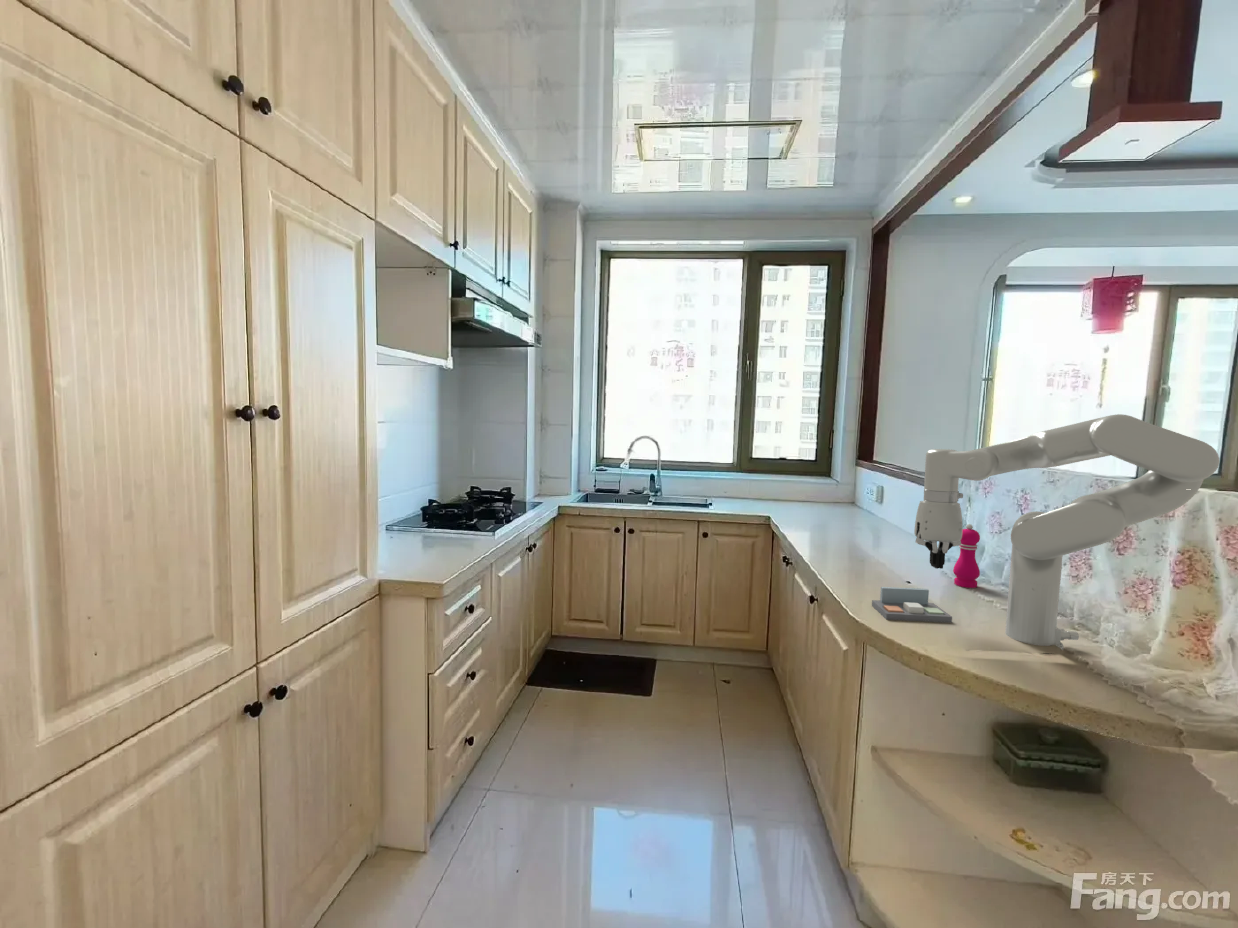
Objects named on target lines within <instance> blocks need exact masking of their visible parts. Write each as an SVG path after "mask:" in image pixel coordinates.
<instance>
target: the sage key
mask: <svg viewBox="0 0 1238 928" xmlns="http://www.w3.org/2000/svg"><path fill="white" fill-rule="evenodd" d="M924 611H926V612H927V613H928V614H942V615H944V612H942V611H941V610H939V609H938V608H927V607H924Z"/></svg>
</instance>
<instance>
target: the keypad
mask: <svg viewBox="0 0 1238 928" xmlns="http://www.w3.org/2000/svg"><path fill="white" fill-rule="evenodd" d="M929 594H930V590H929V589H928V588H918V587H917V588H914V587H894V586H893V587H891V586H890V587H889V586H881V587H880V598H879V599H880V600H878V599H876V600H875V599H873V600H871V607H872V608H874V609H875V610H876V612H878V613H879V614H880V615H881V616H882V617H883V618H884V619H885V620H887V621H891V620H892V621H909V622H928V623H929V622H930V623H931V622H932V623H949V624H952V623H953V616H951V614H949V613H948V612H946V611H945V610H944V609H943V608H942V607H941V608H940V607H939V606H938V605H936V603H934V602H929ZM904 602H909V603H919V604H920V605H921V606H923V607H927V608H938V609H939V610H941V611H942V612H944V615H942V614H928V613H927V612H926V611H924V614H921V613H908V612H907V611H905V610H904V609H903V604H904ZM884 605H885V606H898V607H899V608H901V609H902V610H903V613H900V612H888V611H887V610H885V609H884Z"/></svg>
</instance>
